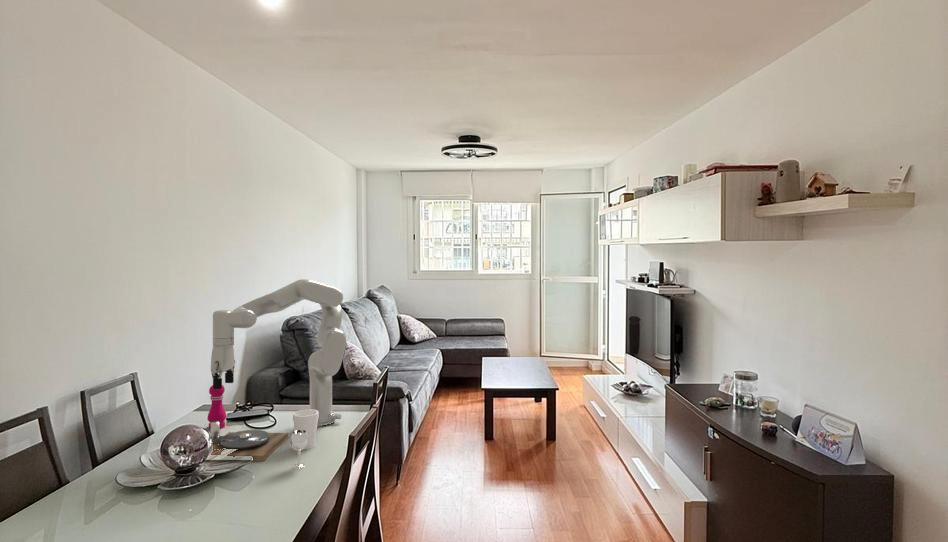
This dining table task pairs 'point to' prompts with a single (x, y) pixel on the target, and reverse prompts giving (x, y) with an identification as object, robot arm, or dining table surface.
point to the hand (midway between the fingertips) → (223, 385)
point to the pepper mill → (217, 407)
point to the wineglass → (299, 445)
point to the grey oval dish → (238, 438)
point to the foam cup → (307, 424)
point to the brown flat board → (256, 452)
